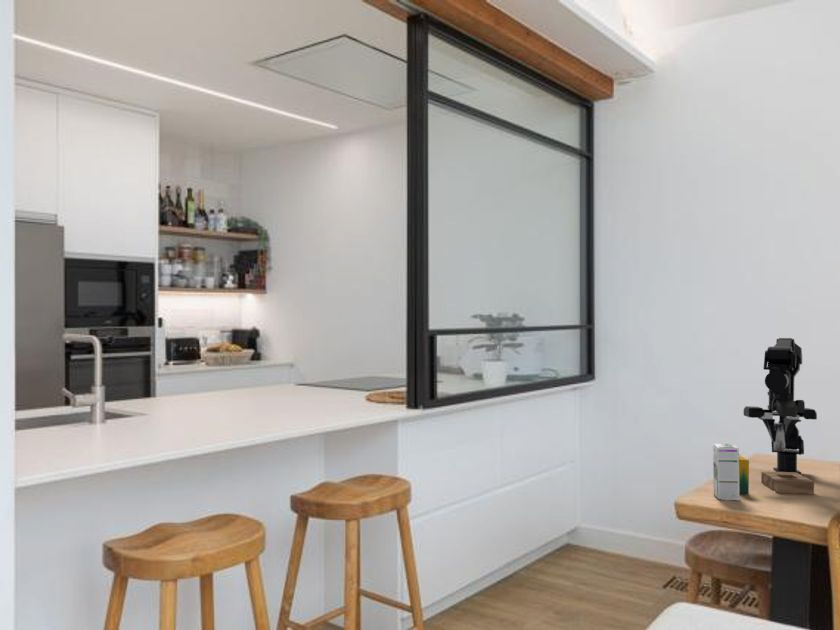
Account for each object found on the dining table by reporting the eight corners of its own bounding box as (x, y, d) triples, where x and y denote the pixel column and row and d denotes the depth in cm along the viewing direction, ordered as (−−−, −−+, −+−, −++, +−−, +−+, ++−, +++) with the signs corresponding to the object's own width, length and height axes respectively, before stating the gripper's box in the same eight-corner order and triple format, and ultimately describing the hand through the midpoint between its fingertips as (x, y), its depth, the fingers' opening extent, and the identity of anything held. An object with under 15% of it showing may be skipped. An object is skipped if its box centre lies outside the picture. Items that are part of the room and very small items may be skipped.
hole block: (761, 483, 210) (761, 471, 210) (796, 484, 208) (796, 472, 208) (776, 492, 198) (776, 480, 198) (813, 494, 196) (813, 481, 196)
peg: (772, 449, 208) (772, 422, 208) (782, 449, 207) (782, 423, 208) (775, 451, 205) (775, 424, 205) (786, 451, 204) (786, 424, 205)
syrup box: (740, 501, 188) (740, 447, 189) (717, 499, 190) (716, 446, 190) (735, 495, 194) (735, 443, 194) (712, 494, 195) (712, 443, 195)
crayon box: (749, 495, 195) (749, 453, 195) (738, 494, 196) (738, 453, 196) (740, 488, 202) (740, 448, 203) (729, 488, 203) (730, 448, 203)
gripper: (755, 390, 200) (754, 445, 200) (824, 392, 197) (824, 447, 197) (743, 387, 211) (742, 439, 211) (809, 389, 208) (809, 441, 208)
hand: (779, 442), depth 206 cm, fingers closed on peg, 3 cm apart
